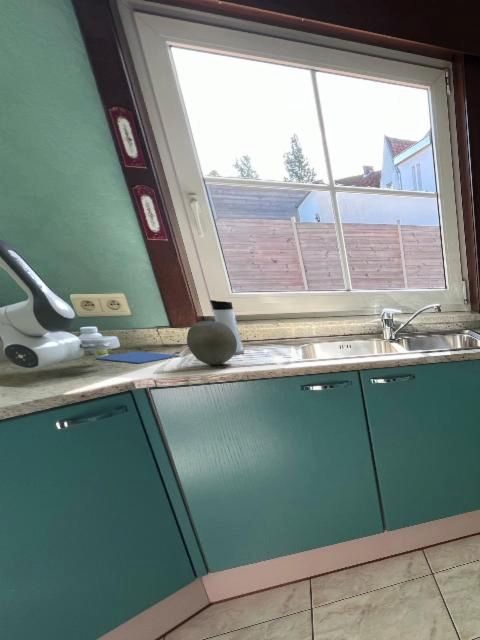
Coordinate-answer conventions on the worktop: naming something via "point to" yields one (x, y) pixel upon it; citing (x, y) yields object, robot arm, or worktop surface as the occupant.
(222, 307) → the travel mug
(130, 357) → the blue cloth
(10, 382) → the worktop surface
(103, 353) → the supplement bottle
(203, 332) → the cantaloupe
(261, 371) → the worktop surface
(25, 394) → the worktop surface
